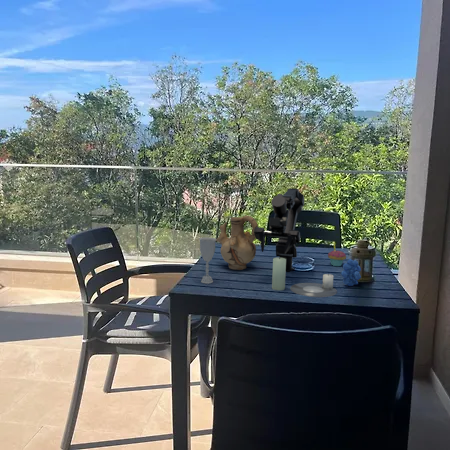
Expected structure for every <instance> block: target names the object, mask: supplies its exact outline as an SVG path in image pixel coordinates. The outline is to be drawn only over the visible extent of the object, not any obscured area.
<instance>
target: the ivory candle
mask: <svg viewBox="0 0 450 450" xmlns="http://www.w3.org/2000/svg"><path fill="white" fill-rule="evenodd" d="M322 284H323V286H322V288H324V289H333V288H334V275H333V274H331V273H324V274H322Z"/></svg>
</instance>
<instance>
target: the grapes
mask: <svg viewBox="0 0 450 450" xmlns="http://www.w3.org/2000/svg"><path fill="white" fill-rule="evenodd" d="M342 268H343V270H342V271H341V272H340V274H341V277H342V283H343V284H344V285H346V286H349V287H352V286H354V285H359V282H358V281H359V280H360V279H362V276H361V271H362V268H361V266H360V265H359V262H358V260H356V259H354V260H353V259H351V258H349V259H347V261H346V263H343V264H342Z"/></svg>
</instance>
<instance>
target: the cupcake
mask: <svg viewBox="0 0 450 450" xmlns="http://www.w3.org/2000/svg"><path fill="white" fill-rule="evenodd" d="M332 243H333V250H331V251H329V252H328V254H327V258H329V261H330V265H331V266H332V265H333V267H342V266H343V262H344V260H346V259H347V254H346V253H345V252H343V251H341V250H336V241H334V240H333V242H332Z"/></svg>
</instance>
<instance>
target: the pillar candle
mask: <svg viewBox="0 0 450 450" xmlns="http://www.w3.org/2000/svg"><path fill="white" fill-rule="evenodd" d="M286 272H287V271H286V259H285V258H280V257H279V256H276V257H274V258H273V259H272V276H271V277H272V279H271V288H272V289H271V290H274V291H280V292H281V291H284V290H285V289H286Z"/></svg>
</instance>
